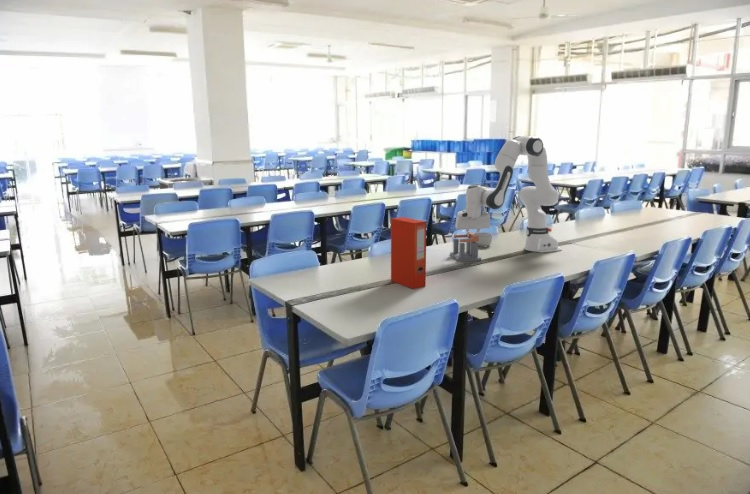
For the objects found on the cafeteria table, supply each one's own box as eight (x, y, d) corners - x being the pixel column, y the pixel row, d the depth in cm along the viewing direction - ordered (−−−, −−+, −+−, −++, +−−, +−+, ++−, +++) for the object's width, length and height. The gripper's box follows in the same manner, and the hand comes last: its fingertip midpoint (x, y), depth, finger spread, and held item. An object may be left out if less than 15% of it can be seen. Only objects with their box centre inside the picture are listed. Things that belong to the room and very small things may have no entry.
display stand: (472, 253, 319) (472, 236, 316) (481, 260, 302) (481, 242, 300) (450, 254, 317) (450, 237, 314) (457, 261, 300) (458, 243, 298)
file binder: (403, 278, 268) (403, 216, 261) (425, 286, 254) (426, 221, 247) (391, 281, 263) (390, 218, 256) (413, 289, 250) (413, 223, 243)
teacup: (490, 244, 344) (491, 232, 343) (492, 247, 334) (493, 235, 332) (469, 244, 346) (469, 232, 344) (470, 247, 335) (470, 235, 333)
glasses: (471, 236, 314) (471, 231, 314) (478, 241, 301) (478, 236, 300) (453, 237, 313) (453, 232, 313) (460, 242, 300) (460, 237, 299)
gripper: (488, 211, 308) (487, 234, 311) (454, 212, 306) (454, 235, 309) (492, 213, 302) (491, 236, 305) (457, 214, 300) (457, 238, 303)
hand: (472, 236), depth 307 cm, fingers closed on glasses, 3 cm apart
